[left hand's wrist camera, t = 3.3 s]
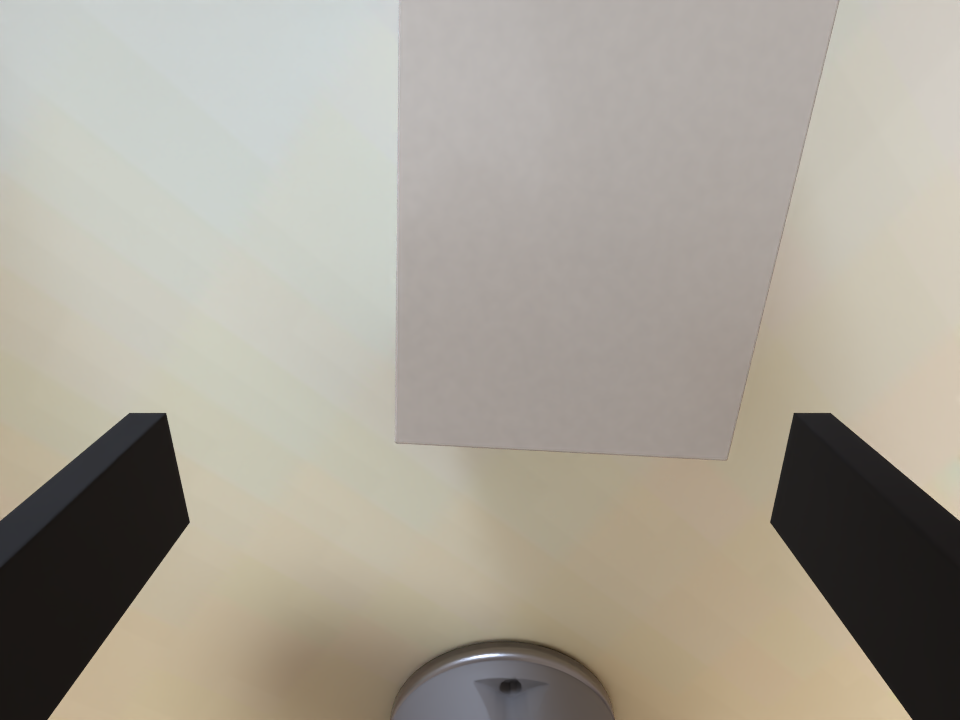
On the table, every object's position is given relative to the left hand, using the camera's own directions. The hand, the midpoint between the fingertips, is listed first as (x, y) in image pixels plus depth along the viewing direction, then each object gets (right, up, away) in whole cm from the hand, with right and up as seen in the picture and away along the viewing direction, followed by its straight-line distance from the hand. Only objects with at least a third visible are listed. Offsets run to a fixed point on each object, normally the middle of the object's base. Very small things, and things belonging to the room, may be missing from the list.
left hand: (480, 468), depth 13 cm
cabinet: (+3, +12, +15) cm, 19 cm away
